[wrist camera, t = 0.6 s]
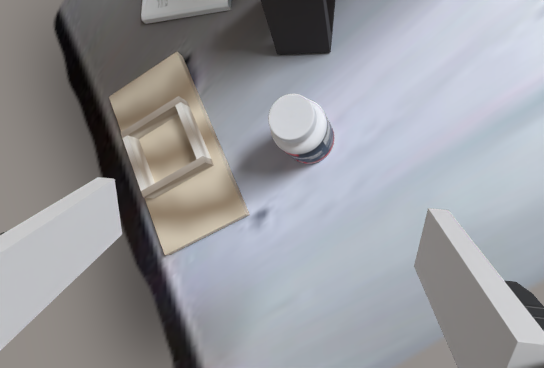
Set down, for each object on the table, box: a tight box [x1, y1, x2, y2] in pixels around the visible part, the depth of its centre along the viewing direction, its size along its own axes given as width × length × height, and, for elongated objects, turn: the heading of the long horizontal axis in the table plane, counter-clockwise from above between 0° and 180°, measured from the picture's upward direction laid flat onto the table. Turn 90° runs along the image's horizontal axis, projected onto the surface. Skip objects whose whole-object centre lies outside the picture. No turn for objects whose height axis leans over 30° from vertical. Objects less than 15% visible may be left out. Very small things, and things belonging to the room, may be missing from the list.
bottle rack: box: [109, 52, 250, 255], centre depth 40 cm, size 22×11×3 cm, turn 25°
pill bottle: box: [268, 94, 334, 164], centre depth 33 cm, size 5×5×9 cm
